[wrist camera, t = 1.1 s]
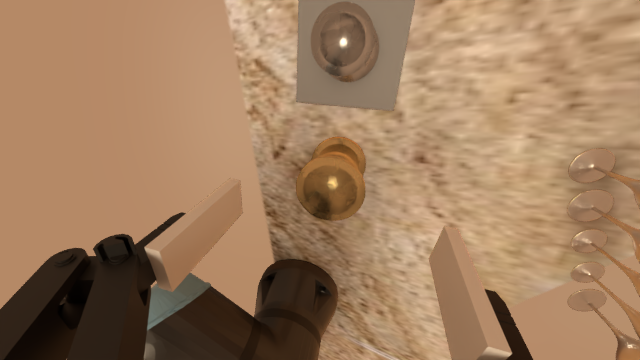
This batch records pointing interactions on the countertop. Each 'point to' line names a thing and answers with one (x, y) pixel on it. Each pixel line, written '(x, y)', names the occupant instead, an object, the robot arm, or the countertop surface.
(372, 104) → the plate
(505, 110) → the countertop surface
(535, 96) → the countertop surface
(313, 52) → the narrow pipe stub
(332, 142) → the gold flared knob
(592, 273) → the goblet set
